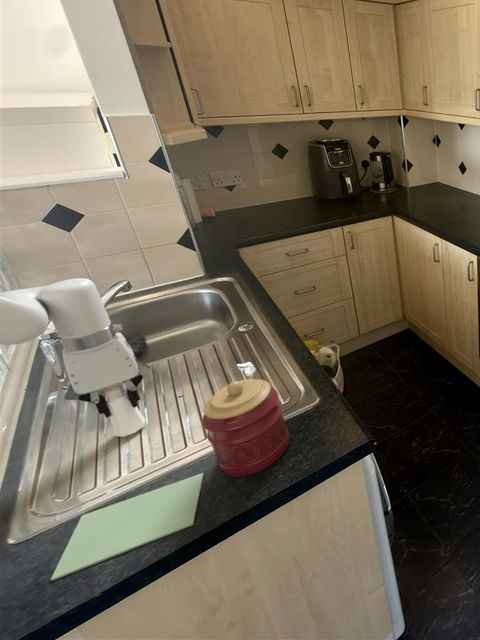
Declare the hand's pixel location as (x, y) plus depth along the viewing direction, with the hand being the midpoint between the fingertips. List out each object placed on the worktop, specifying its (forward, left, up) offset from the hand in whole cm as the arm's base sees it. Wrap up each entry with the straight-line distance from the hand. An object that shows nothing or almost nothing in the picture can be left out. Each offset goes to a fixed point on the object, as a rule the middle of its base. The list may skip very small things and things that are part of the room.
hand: (121, 408), depth 90 cm
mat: (+7, -29, -6) cm, 30 cm away
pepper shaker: (0, 0, -6) cm, 6 cm away
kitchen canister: (+25, -22, -7) cm, 34 cm away
